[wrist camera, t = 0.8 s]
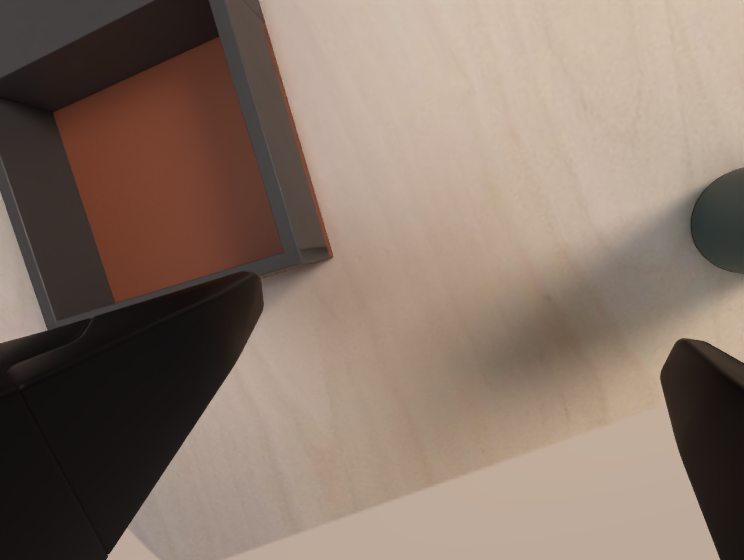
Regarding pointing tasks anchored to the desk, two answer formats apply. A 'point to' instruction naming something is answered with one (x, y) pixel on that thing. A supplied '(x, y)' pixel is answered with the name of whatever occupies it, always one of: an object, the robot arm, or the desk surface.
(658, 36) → the desk surface
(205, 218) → the toy kitchen
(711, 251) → the teal green cylinder
